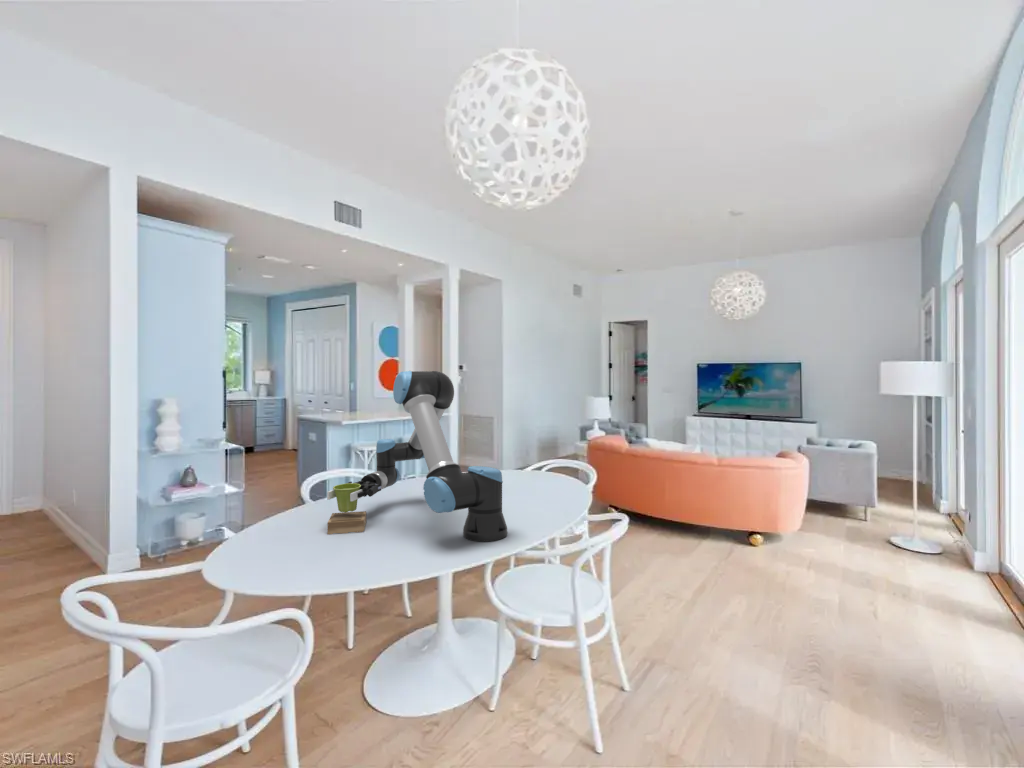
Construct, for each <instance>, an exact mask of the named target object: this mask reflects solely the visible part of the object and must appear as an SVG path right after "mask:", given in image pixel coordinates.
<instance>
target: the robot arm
mask: <svg viewBox="0 0 1024 768" xmlns="http://www.w3.org/2000/svg"><path fill="white" fill-rule="evenodd" d="M454 388H455V387H454V384H453V382H452V380H451V379H450V377H449V376H448V375H447V374H445V373H443V372H441V371H439V370H432V371H430V370H429V371H427V370H426V371H425V370H424V371H420V370H419V371H412V370H407V371H400V372H399V373H398V374H397V375H396V376H395V379H394V382H393V391H392V392H393V396H392V397H393V400H394V401H395V403H396V404H398V405H402V406H403V410H404V411H405V412H406V413H407V414H410V417H411V420H412V423H413V427H414V430H413V432H412V434H411V436H410V438H409V440H408V441H406V442H396V440H395V439H393V438H383V439H378V440H377V442H376V449H375V455H376V456H375V457H376V459H375V460H376V470H375V471H373V472H371V473H368V474H365V475H364V476H362V478H361V479H360V480H359V481H357V482H354V483H356V484H360V485H361V487H360V489H359V490H358V491H355V492H353V493H351V494H350V501H354V500H357V499H361V498H363V497H364V498H365V497H367V496H368V497H373V496H374V495H375V494H377V493H379V492H381V491H382V490H384V489H386V488H388V487H392V486H393V485H395V484H396V483H398V481H399V479H400V471H399V470H398V468H397V467H396V462H402V461H403V462H405V461H412V460H421V459H424V460H425V463H426V467H427V470H428V472H427V474H426V477H425V481H424V484H423V487H422V488H423V495H424V496H423V497H424V500H425V502H426V504H427V506H428V507H429V509H430V510H432V511H434V512H435V513H437V514H439V513H440V514H442V513H452V512H454V511H459V510H465V509H468V510H467V511H468V512H467V516H466V518H465V522H464V525H463V528H462V529H463V530H462V536H463V537H464V538H465V539H467V540H470V541H474V542H494V541H499V540H502V539H504V538H506V537H508V525H507V523H506V520H505V516H504V514H503V513H504V512H503V482H504V481H503V475H502V471H501V470H500V469H498V468H497V467H496V468H495V467H490V466H481V465H479V466H478V465H473V466H470V465H469V467H467V471H466V472H463V471H462V469H461V466H460V465H459V464H458V463H456V462H454V460H453V457H452V453H451V451H450V449H449V445H448V442H447V440H446V438H445V435H444V432H443V429H442V428H443V427H442V426H441V423H440V420H441V418H442V416H443V415H444V413H445V410H448V409H449V408H450V407H451V404H452V403H453V400H454V396H455V389H454ZM347 483H353V481H348V482H347ZM347 483H344V484H347ZM326 493H327V495H326V496H327V500H332V499H335V498H336V493H335V490H334V489H333V488H332V489H331V490H329V491H326ZM357 501H358V500H357Z"/></svg>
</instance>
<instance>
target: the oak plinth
mask: <svg viewBox="0 0 1024 768" xmlns="http://www.w3.org/2000/svg"><path fill="white" fill-rule="evenodd" d="M366 524H367V510H365V511H364V510H363V511H348V512H332V513H331V514H330V517H329V518H328V521H327V524H326V525H327V535H334V534H333V533H340V534H349V533H348V532H355V533H364V532H365V529H366ZM363 531H364V532H363Z"/></svg>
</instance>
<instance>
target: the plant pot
mask: <svg viewBox="0 0 1024 768" xmlns="http://www.w3.org/2000/svg"><path fill="white" fill-rule="evenodd" d="M360 487H361V485H360V484H356V483H355V482H352V483H348V482H347V484H345V483H341V484H337V485H334V486H333V487H332V490H333V489H334V490H335V493H336V497H335V498H336V503H337V508H338V509H337V510H338V511H339V513H343V512H355V511H357V508H358V501H359V500H358V499H357V500H354V501H350V494H351V493H353V492H355V491H358V490H359V489H360Z"/></svg>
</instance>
